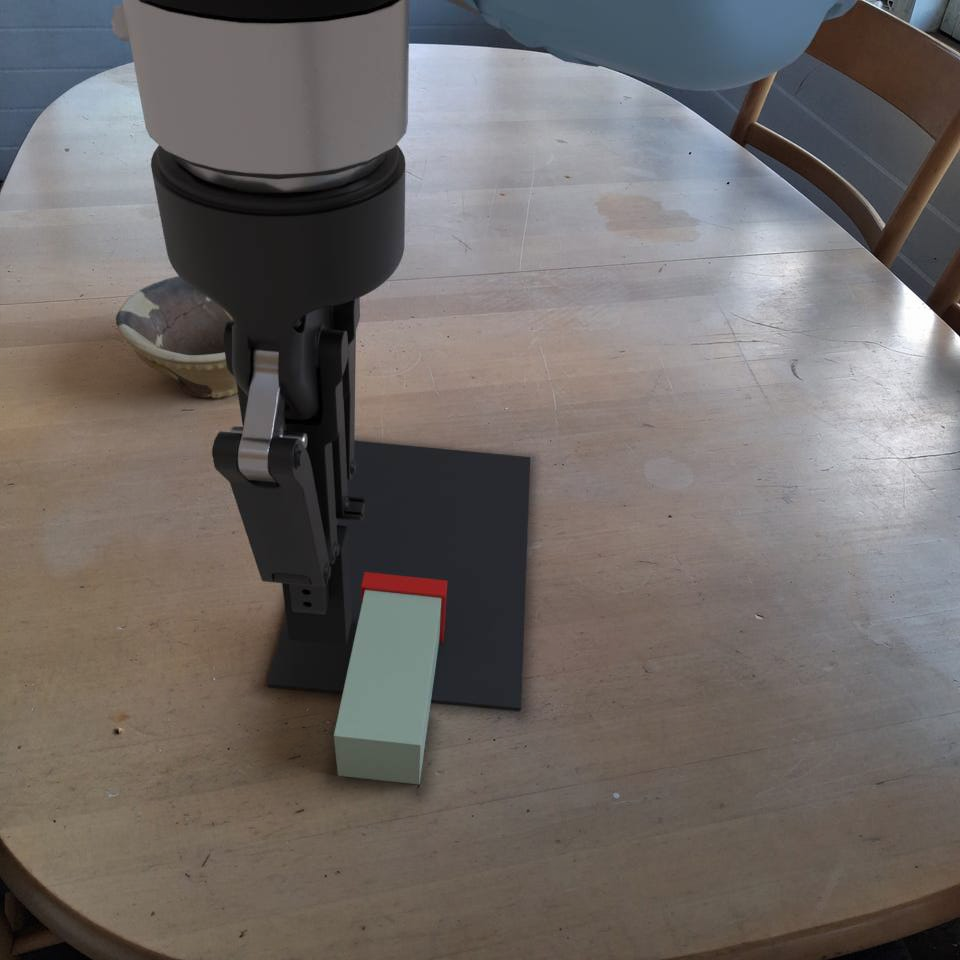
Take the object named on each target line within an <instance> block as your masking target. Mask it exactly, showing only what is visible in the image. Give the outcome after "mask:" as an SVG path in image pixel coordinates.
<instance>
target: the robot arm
mask: <svg viewBox="0 0 960 960" xmlns="http://www.w3.org/2000/svg"><path fill="white" fill-rule="evenodd" d="M121 1H122V4H119V5H116V6H114V9H113V12H112V15H111V21H110V24H111V27H112V30H113V34H114V35H115V36H116V37H117V38H118V39H119V40H121V41H123V42H127V43H129V44H130V50H131V56H132V61H133V66H134V72H135V77H136V84H137V88H138V93H139V98H140V104H141V109H142V115H143V120H144V124H145V129H146V132H147V134H148V136H149V138H150V139H151V140H153V141H154V142H155V143H156V144H157V145H158V146H157V147H156V148H155V150H154V151H153V153H152V156H151V159H150V168H151V169H150V170H151V174H152V180H153V184H154V190H155V196H156V201H157V202H156V203H157V207H158V212H159V218H160V224H161V228H162V233H163V239H164V244H165V245H164V246H165V250H166V255H167V258H168V260H169V263H170V265H171V267H172V269H173V270H174V271H175V273H176V275H177V276H180V278H181V279H182V280H183V281H184V282H185V283H187V284H188V285H189V286H190V287H192V288H193V289H195V290H196V291H198V292H199V293H201V294H203V295H205V296H206V297H208V298H209V299H211V300H212V301H214V302H215V303H217V304H218V305H219V306H221V307H222V308H223V309H224V310H225V311H226V312H227V313H228V314H229V315H230V316H231V317H232V318H233V320H228V322H227V324H226V326H225V331H224V350H225V357H226V364H227V368H228V370H229V372H230V373H231V374H232V375H233V376H234V377H235V380H236V383H237V390H238V393H237V396H238V404H239V410H240V417H241V418H240V419H241V424H242V426H240V425H239V426H237V425H233V426H232V427H230V429H229V431H221V430H220V431H219V432H217V434H216V436H215V438H214V440H213V444H212V447H211V456H212V461H213V467H214V468H215V470H216V471H217V472H218V473H219V474H220V475H221V476H222V477H223V478H225V479H226V481H228V482H229V485H230V488H231V491H232V494H233V496H234V500H235V503H236V506H237V509H238V512H239V515H240V518H241V521H242V524H243V528H244V530H245V534H246V537H247V539H248V543H249V545H250V548H251V552H252V555H253V558H254V561H255V563H256V567H257V570H258V573H259V576H260V580H261V581H262V582H265V583H275V584H281V586H282V594H283V601H284V603H283V604H284V609H285V610H284V611H285V620H286V619H287V627H288V635H289V640H296V641H307V642H317V643H328V644H338V645H347V640H348V635H349V631H350V626H351V621H352V615H351V594H350V572H349V551H348V529H347V526H341V525H338V519H344V520H355V521H362V519H363V515H364V508H365V498H363V497H352V496H348V486H347V480H351V479H352V475H354V473H355V470H356V462H354V441H355V434H356V433H355V430H356V429H355V428H356V425H355V424H356V421H355V420H356V363H357V361H356V359H357V357H356V355H357V353H356V352H357V330H358V326H359V322H360V319H361V301H360V300H361V299H360V298H362V297H364V296H366V295H367V294H370V293H372V292H373V291H375V290H376V289H378V288H379V287H380V286H382V285H383V284H385V282H387V280H389V279H390V278H391V276H392V275H393V274H394V273H395V271H396V270H397V268H398V267H399V265H400V264H401V262H402V258H403V256H404V251H405V239H406V238H405V234H406V233H405V232H406V230H405V229H406V227H405V226H406V158H405V157H406V156H405V154H404V153H403V150H402V149H401V147H400V146H399V145H398V144H399V142H400V141H401V140H402V139H403V137H404V136H405V135H406V134H407V129H408V124H409V71H410V70H409V67H410V65H409V64H410V63H409V62H410V0H121ZM446 1H447V2H449V3H451V4H453V5H456V6H457V7H460V8H462V9H464V10H466V11H468V12H471V13H473V14H474V15H477V16H480V17H481V18H483V19H484V20H485V22H486V23H487V24H488V25H490V26H493V27H495V28H496V29H499V30H504V31H505V32H506V33H507V34H508V35H509V36H510V37H511V38H512V39H513V40H514V41H516V42H517V43H519V44H521V45H523V46H525V47H527V48H531V49H532V48H533V49H534V48H535V49H536V48H544V49H545V51H546V52H548V53H549V54H550V55H551V56H553V57H554V58H556V59H558V60H561V61H563V62H565V63H570V64H571V63H572V64H576V65H583V66H590V67H595V68H598V67H604V68H608V69H611V70H614V71H618V72H620V73H624V74H627V75H631V76H634V77H637V78H641V79H644V80H647V81H650V82H653V83H657V84H661V85H663V86H666V87H671V88H674V89H679V90H686V91H698V92H711V91H712V92H714V91H716V92H717V91H724V90H729V89H735V88H736V89H737V88H740V87H744V86H746V85H749V84H750V85H751V84H752V83H755V82H758V81H760V80H764V79H765V78H768V77H770V76H771V75H773V74H775V73H777V72H779V71H781V70H782V69H784V68H786V67H788V66H790V65H791V64H792V63H794V62H795V61H796V60H797V59H798V58H800V57H801V55H802V54H803V53H804V52H805V51H806V50H807V48H808V47H809V46H810V45H811V42H812V41H813V40H814V37H815V36H816V34H817V32H818V30H819V29H820V26H821V24H822V23H823V22H825V21H828V20H833V19H836V18H839V17H843V16H844V15H845V14H847V12H848V11H850V10H851V9H852V8H853V7H854V6H855V5H856V3H857V2H858V1H859V0H446Z"/></svg>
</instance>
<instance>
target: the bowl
mask: <svg viewBox="0 0 960 960" xmlns="http://www.w3.org/2000/svg"><path fill="white" fill-rule="evenodd" d="M228 320H233V318H232V317H231V316H230V315H229V314H228V313H227V312H226V311H225V310H224V309H223V308H222V307H221V306H219V305H218V304H217V303H215V302H214V301H212V300H211V299H209V298H208V297H206V296H205V295H203V294H201V293H199V292H198V291H196V290H195V289H193V288H192V287H190V286H189V285H188V284H187V283H185V282H184V281H183V280H182V279H181V278H180V276H179V275H177V276H173V277H170V278H166V279H163V280H160V281H157V282H153V283H152V284H149V285H147V286H145V287H143V288H141V289H139V290H138V291H136V292H135V293H134V294H132V295H131V296H130V297H128V299H126V300H125V302H124V303H123V304H122V305H121V307H120V309H119V310H118V312H117V313H116V316H115V324H116V327H117V328H118V330H119V333H120V334H121V336H122V337H123V339H125V340H126V341H127V342H128V344H129V346H130V347H132V348H133V350H134V352H135V353H136V355H137V356H138V358H139V359H140V360H141V361H143V362H144V363H145V364H146V365H148V367H150V368H152V369H153V370H154V371H157V372H158V373H160V374H162V375H164V376H167V377H170V378H172V379H174V380H176V382H177V384H178V386H179V387H180V388H181V389H182V390H183V391H184V392H185V393H187V394H188V395H192V396H194V397H198V398H199V397H200V398H212V399H221V398H225V397H226V398H227V397H231V396H233V395H236V394H238V390H237V383H236V380H235V377H234V376H233V375H232V374H231V373H230V372H229V370H228V368H227V364H226V357H225V350H224V331H225V326H226V324H227V322H228Z"/></svg>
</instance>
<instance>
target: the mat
mask: <svg viewBox="0 0 960 960" xmlns="http://www.w3.org/2000/svg"><path fill="white" fill-rule="evenodd" d="M354 462H356V470H355V473H354V475H352V479H351V480H347V486H348V496H352V497H363V498H365V508H364V515H363V519H362V521H355V520H344V519H338V525H341V526H347V529H348V551H349V572H350V594H351V615H352V621H351V626H350V631H349V635H348V640H347V645H338V644H328V643H317V642H307V641H296V640H289V635H288V627H287V619H286V618H285V620H284V623H283V627H282V631H281V634H280V638H279V641H278V644H277V648H276V652H275V655H274V659H273V662H272V665H271V669H270V672H269V676H268V680H267V683H266V686H267V688H275V689H278V688H279V689H289V690H297V691H308V692H319V693H328V694H329V693H330V694H340V695H342V694H343V690H344V685H345V680H346V676H347V671H348V666H349V662H350V657H351V652H352V648H353V643H354V638H355V634H356V629H357V624H358V620H359V615H360V610H361V606H362V594H361V585H362V580H363V576H364V572H369V573H378V574H388V575H397V576H407V577H416V578H426V579H435V580H445V581H447V596H446V613H445V629H444V636H443V643H439V645H438V653H437V660H436V667H435V675H434V682H433V689H432V697H431V703H435V704H446V705H457V706H466V707H478V708H485V709H486V708H487V709H488V708H489V709H496V710H497V709H498V710H508V711H519V712H520V711H521V710H522V697H523V695H522V694H523V693H522V691H523V666H524V665H523V664H524V641H525V640H524V639H525V615H526V613H525V612H526V611H525V610H526V609H525V608H526V588H527V587H526V585H527V583H526V582H527V563H528V561H527V556H528V535H529V534H528V532H529V506H530V505H529V504H530V481H531V478H530V477H531V456H523V455H513V454H512V455H511V454H502V453H490V452H480V451H470V450H459V449H450V448H449V449H447V448H436V447H427V446H418V445H417V446H416V445H406V444H394V443H385V442H373V441H364V440H354Z"/></svg>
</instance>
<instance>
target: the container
mask: <svg viewBox="0 0 960 960" xmlns="http://www.w3.org/2000/svg"><path fill="white" fill-rule="evenodd" d="M361 594H362V606H361V610H360V615H359V620H358V624H357V629H356V634H355V638H354V643H353V648H352V652H351V657H350V662H349V666H348V671H347V676H346V680H345V685H344V690H343V694H341V700H340V705H339V708H338V714H337V719H336V722H335V728H334V732H333V741H334V752H335V761H336V770H337V776H338V777H346V778H354V779H355V778H356V779H364V780H365V779H366V780H374V781H383V782H391V783H403V784H411V785H420V783H421V778H422V777H421V776H422V769H423V762H424V754H425V746H426V740H427V733H428V725H429V718H430V711H431V704H432V702H431V697H432V689H433V682H434V675H435V667H436V660H437V653H438V645H439V643H443V636H444V629H445V613H446V596H447V581H445V580H435V579H426V578H416V577H407V576H397V575H388V574H378V573H369V572H364V576H363V580H362V585H361Z"/></svg>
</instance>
